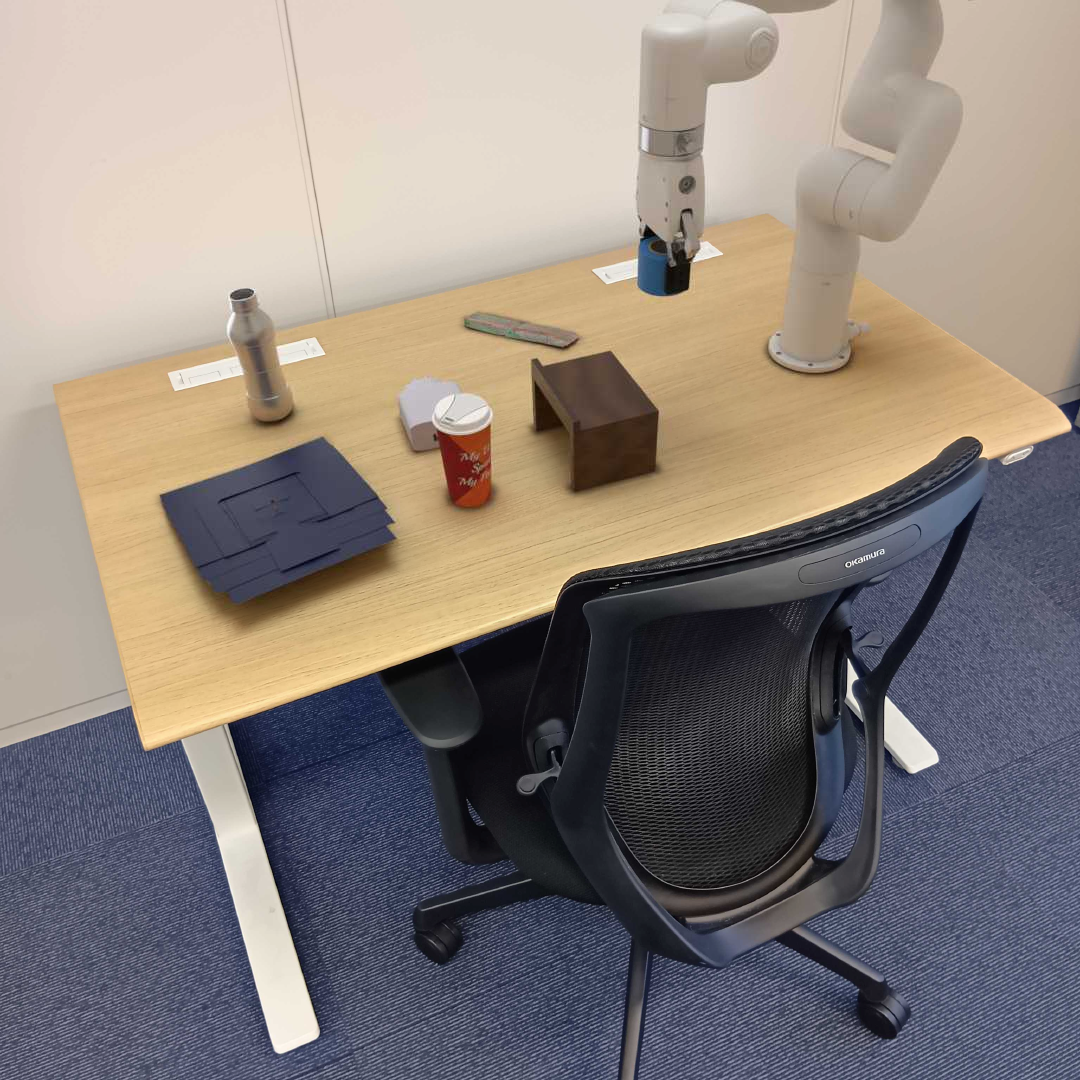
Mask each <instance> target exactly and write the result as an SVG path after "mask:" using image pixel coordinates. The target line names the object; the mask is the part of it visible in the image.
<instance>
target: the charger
mask: <svg viewBox="0 0 1080 1080" xmlns="http://www.w3.org/2000/svg"><path fill="white" fill-rule="evenodd" d="M454 394H464V393H463V391H462V389H461V387H460V385H459V383H458V382H457V381H442V380H441V379H439V378H435V377H431V376H430V377H428V375H426V374H425V375H423V378H421V379H420V378H419V379H417V377H412V381H411V382H410V383H408V384H407V385H405V387H404V390H403V391H401V392H400V393H398V395H397V397H396V398H397V404H398V410H399V416H400V418H401V420H402V424H403V427H404V429H405V431H406V433H407V437H408V439H409V441H410V445H411V448H412V449H413V451H417V452H424V451H428V450H433V449H438V448H440V446H439V441H438V435H437V430H436V427H435V426H434V425H433V422H432V415H433V413H434V411H435V407H436V405H437V404H438V402H439V401H441V400H442V399H444V398H445V397H448V396H450V395H454Z"/></svg>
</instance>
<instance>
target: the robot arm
mask: <svg viewBox="0 0 1080 1080" xmlns="http://www.w3.org/2000/svg"><path fill="white" fill-rule="evenodd" d="M837 1H838V0H669V1H668V2H667V4H666V5H665V7H664V9H663V11H662V13H661V14H658V15H655V16H653V17H651V18H650V19H648V20H647V21H646V23H645V24H644V26H643V28H642V31H641V35H640V61H639V62H640V63H639V64H640V65H639V91H638V92H639V93H638V95H639V97H638V127H637V151H638V153H639V156H638V162H637V173H636V174H637V175H636V189H635V191H636V192H635V193H636V194H635V207H636V213H637V218H638V219H639V223H640V224H639V227H638V234H639V236H640V238H639V244H640V243H641V242H642V241H643V240H645V239H647V238H650V237H653V236H659V237H660V238H661V239H662V240H664V241H665V242H666V246H667V253H668V260H669V263H667V264H665V282H664V292H665V293H666V294H667V295H669V294H674V293H678V292H682V293H684V292H686V291H687V292H688V290H689V289H690V283H691V279H690V278H691V267H692V263H693V262H694V259H695V257H696V255H697V254H698V253H699V251H700V250H701V249H702V248H701V247H702V245H701V243H700V238H702V237H703V234H704V230H705V212H706V211H705V210H706V209H705V207H706V180H705V164H704V156H703V155H702V153H703V151H704V143H705V142H704V141H705V128H706V116H707V115H706V114H707V104H708V103H707V101H708V90H709V87H710V86H712V85H718V84H727V83H728V84H729V83H739V82H745V81H748V80H751V79H753V78H755V77H757V76H759V75H760V74H762V73H763V72H764V71H765V70H766V69H767V68H768V67H769V66H770V65H771V63H772V62H773V60H774V58H775V57H776V54H777V52H778V48H779V43H780V33H779V28H778V26H777V23H776V21H775V20H774V18H773V17H772V15H773V14H794V13H795V14H796V13H803V12H805V13H806V12H811V11H817V10H821V9H824V8H827V7H830V6H831V5H833V4H835V3H836V2H837ZM968 1H973V0H968ZM770 14H772V15H770ZM880 15H881V16H880V19H879V23H878V26H877V30H876V32H875V35H874V37H873V39H872V41H871V43H870V46H869V48H868V49H867V52H866V54H865V56H864V58H863V61H862V62H861V65H860V67H859V69H858V70H857V73H856V76H855V77H854V79H853V82H852V84H851V86H850V88H849V90H848V92H847V95H846V97H845V100H844V101H843V105H842V108H841V111H840V115H839V123H840V127H841V130H842V131H843V132H844V133H845V134H846V135H847V136H849V137H850V138H852V139H854V140H856V141H858V142H860V143H863V144H866V145H869V146H871V147H873V148H877V149H880V150H882V151H885V152H887V153H891V154H892V155H893V154H894V157H893V160H892V162H891V164H890V163H888V162H884V161H881V160H879V159H876V158H875V157H872V156H869V155H867V154H864V153H860V152H857V151H855V150H852V149H849V148H845V147H840V146H824V147H821V148H818V149H816V150H814V151H813V152H811V153H809V155H807V157H806V158H805V159H804V160H803V162H802V163H801V166H800V168H799V170H798V172H797V175H796V180H795V185H794V186H795V188H794V189H795V190H794V199H795V234H794V241H793V243H794V244H793V249H792V256H791V262H790V269H789V276H788V281H787V288H786V293H785V302H784V308H783V315H782V320H781V326H780V327H781V328H780V330H778V331H776V332H775V333H773V334H772V335H771V337H770V338H769V341H768V346H767V349H768V353H769V355H770V357H771V358H772V359H773V360H774V361H775V362H776V363H777V364H779V365H781V366H783V367H784V368H787V369H789V370H793V371H795V372H800V373H807V374H820V373H828V372H832V371H835V370H838V369H840V368H842V367H844V366H845V365H846V364H847V363H848V362H849V360H850V357H851V353H852V349H851V345H850V343H849V341H852V340H853V339H854V338H855V337H860V336H865V335H869V334H870V333H871V325H870V323H869V322H867V321H864V322H858V323H856V324H855V321H854V319H853V318H852V317H848V315H849V311H850V306H851V301H852V296H853V291H854V287H855V281H856V276H857V272H858V266H859V263H860V256H861V237H864V238H866V239H869V240H872V241H874V242H879V243H890V242H894V241H896V240H898V239H900V238H901V237H902V236H903V235H904V234H905V233H906V232H907V231H908V230H909V229H910V227H911V225H912V224H913V223H914V221H915V220H916V218H917V217H918V214H919V212H920V210H921V208H922V207H923V205H924V204H925V201H926V199H927V197H928V195H929V194H930V192H931V189H932V188H933V186H934V184H935V182H936V180H937V178H938V176H939V174H940V172H941V170H942V168H943V167H944V165H945V162H946V161H947V159H948V157H949V155H950V153H951V151H952V149H953V147H954V145H955V142H956V140H957V138H958V136H959V133H960V130H961V126H962V122H963V115H964V105H963V101H962V100H963V99H962V98H961V96H960V94H959V93H958V91H956V90H955V89H954V88H953V87H951V86H949V85H947V84H945V83H941V82H938V81H935V80H932V79H928V75H929V73H930V71H931V68H932V66H933V64H934V63H935V60H936V57H937V55H938V53H939V51H940V49H941V47H942V43H943V40H944V31H945V29H944V26H945V25H944V16H943V9H942V4H941V1H940V0H881V14H880ZM678 233H681V234H682V236H676V235H677V234H678ZM674 236H676V237H677V238H674ZM681 242H683V246H684V248H683V249H681V250H679V251H678V252H677V253H675V245H674V244H677V243H681ZM683 291H684V292H683Z"/></svg>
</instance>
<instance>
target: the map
mask: <svg viewBox="0 0 1080 1080" xmlns="http://www.w3.org/2000/svg"><path fill="white" fill-rule="evenodd" d="M463 324H464V326H466V327H468V328H470V329H474V330H477V331H482V332H485V333H489V334H493V335H497V336H505V337H506V338H511V339H518V340H522V341H528V342H534V343H539V344H541V343H542V344H546V345H550V346H557V347H563V348H564V347H565V346H567V347H568V345H570V344H571V343H573V342H575V341H576V340H577V338H578V337H579V336H580V334H577V332H576V331H570V330H566V329H562V328H558V327H553V326H552V327H551V326H547V325H541V324H537V323H530V322H527V321H521V320H520V321H519V320H515V319H509V318H505V317H501V316H495V315H491V314H486V313H482V312H479V311H477V312H475V313H471V315H467V316H464V322H463Z"/></svg>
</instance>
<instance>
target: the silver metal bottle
mask: <svg viewBox="0 0 1080 1080" xmlns="http://www.w3.org/2000/svg"><path fill="white" fill-rule="evenodd" d="M228 300H229V308H230V311H232V313H231V315H230V316H229V319H228V323H227V325H226V334H227V335H226V336H227V337H228V340H229V342H230V344H231V346H232V348H233V351H234V353H235V354H236V357H237V360H238V362H239V366H240V368H241V371H242V373H243V380H244V384H245V385H244V386H245V389H246V391H245V392H246V393H245V394H246V402H247V403H246V404H247V407H248V409H249V411H250V413H251V415H252V416H253V417H254V418H256V419H257V420H258V421H261V422H266V423H267V422H268V423H270V422H271V423H272V422H276V421H280V420H282V419H284V418H286V417H287V416H288V415H289V414H290V413H291V411H292V409H293V407H294V395H293V393H292V390H291V387H290V386H289V383H288V382H287V380H286V377H285V375H284V372H283V369H282V366H281V363H280V362H281V361H280V358H279V353H278V348H277V339H276V338H277V335H276V327H275V324H274V321H273V319H272V318H271V316H270V315H269V314H268V313H267V312H266V311H265V310H263V309H262V308H260V307H259V306H260V302H259V301H260V300H259V298H258V296H257V292H256V290H255V289H254V288H251V287H240V288H236V289H234V290H232V291H231V292H230V293H229V294H228Z"/></svg>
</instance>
